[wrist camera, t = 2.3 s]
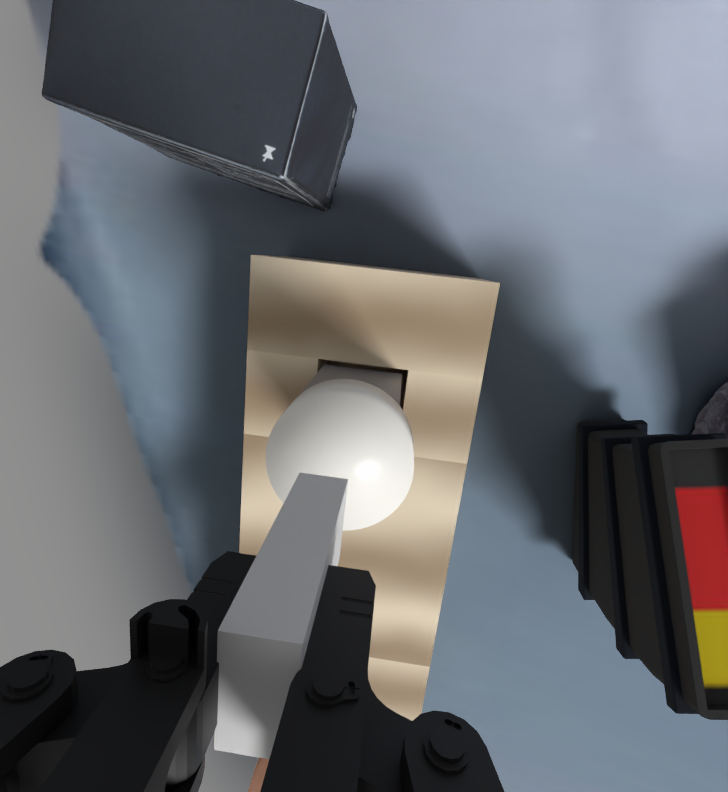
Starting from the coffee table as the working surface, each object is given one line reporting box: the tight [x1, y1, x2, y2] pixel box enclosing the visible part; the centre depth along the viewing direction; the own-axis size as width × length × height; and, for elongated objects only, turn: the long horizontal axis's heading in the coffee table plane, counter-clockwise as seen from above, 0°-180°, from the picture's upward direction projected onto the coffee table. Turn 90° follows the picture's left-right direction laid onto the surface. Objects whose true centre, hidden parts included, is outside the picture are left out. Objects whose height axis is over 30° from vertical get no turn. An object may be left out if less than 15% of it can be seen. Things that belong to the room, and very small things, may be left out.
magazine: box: [573, 419, 728, 720], centre depth 27 cm, size 4×13×15 cm, turn 5°
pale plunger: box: [266, 364, 414, 531], centre depth 21 cm, size 6×6×8 cm
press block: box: [239, 255, 500, 721], centre depth 31 cm, size 32×12×7 cm, turn 174°
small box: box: [42, 0, 357, 211], centre depth 23 cm, size 11×6×10 cm, turn 72°
